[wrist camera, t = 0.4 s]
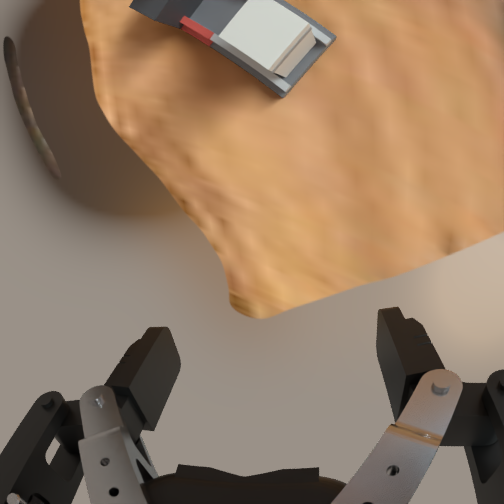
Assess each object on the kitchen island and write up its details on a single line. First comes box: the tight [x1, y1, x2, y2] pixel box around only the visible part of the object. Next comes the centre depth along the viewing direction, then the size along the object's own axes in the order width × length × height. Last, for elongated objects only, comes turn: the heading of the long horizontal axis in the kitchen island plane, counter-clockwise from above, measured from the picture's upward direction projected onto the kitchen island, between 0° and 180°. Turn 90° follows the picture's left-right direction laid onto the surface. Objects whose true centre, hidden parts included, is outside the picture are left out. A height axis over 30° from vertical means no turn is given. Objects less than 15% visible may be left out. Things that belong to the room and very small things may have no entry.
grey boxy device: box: [129, 0, 336, 98], centre depth 24 cm, size 18×9×10 cm, turn 52°
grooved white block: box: [218, 0, 316, 77], centre depth 24 cm, size 5×5×9 cm
